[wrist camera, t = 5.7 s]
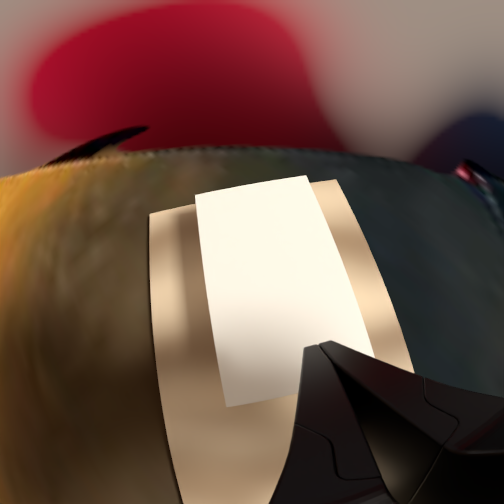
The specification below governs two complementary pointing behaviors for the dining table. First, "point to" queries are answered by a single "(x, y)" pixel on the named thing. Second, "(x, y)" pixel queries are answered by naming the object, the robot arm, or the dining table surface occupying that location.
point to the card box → (272, 286)
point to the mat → (207, 370)
